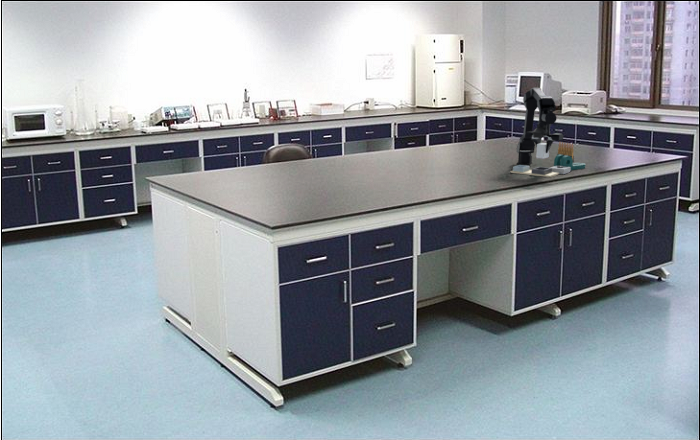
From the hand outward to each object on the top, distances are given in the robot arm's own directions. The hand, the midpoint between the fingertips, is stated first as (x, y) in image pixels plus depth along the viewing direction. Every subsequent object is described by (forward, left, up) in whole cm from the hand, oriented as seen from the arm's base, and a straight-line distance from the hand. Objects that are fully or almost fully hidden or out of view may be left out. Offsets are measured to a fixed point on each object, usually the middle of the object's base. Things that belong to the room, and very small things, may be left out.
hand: (542, 152), depth 366 cm
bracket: (+5, +25, -12) cm, 28 cm away
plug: (0, 0, -3) cm, 2 cm away
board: (-4, 0, -11) cm, 12 cm away
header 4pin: (0, 0, -11) cm, 11 cm away
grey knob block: (+5, +11, -11) cm, 16 cm away
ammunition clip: (-4, +38, -12) cm, 40 cm away
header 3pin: (-11, 0, -11) cm, 16 cm away
